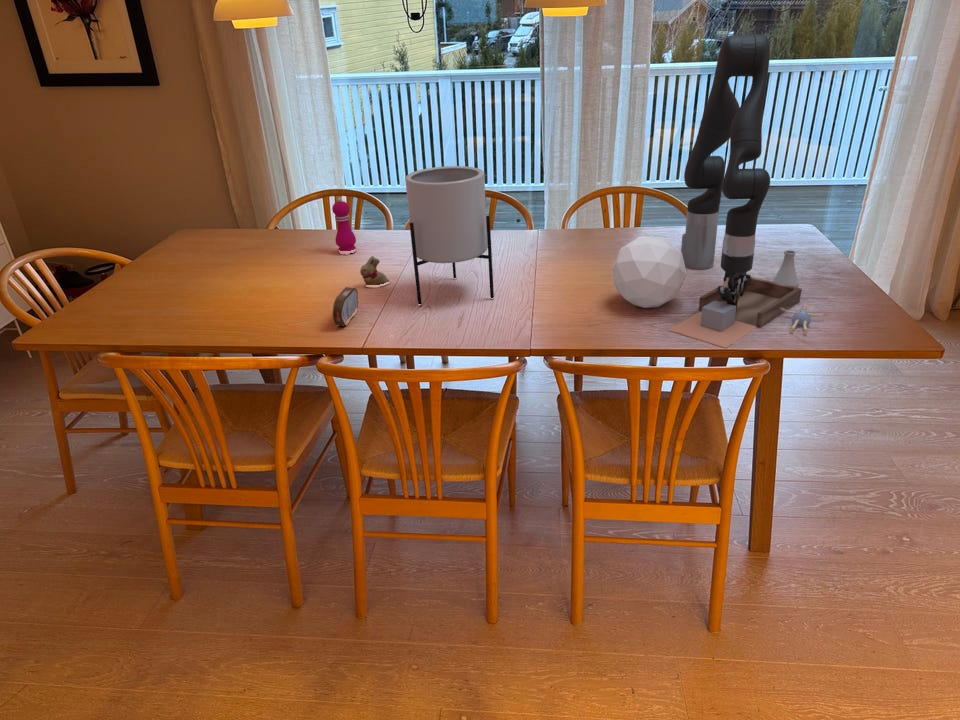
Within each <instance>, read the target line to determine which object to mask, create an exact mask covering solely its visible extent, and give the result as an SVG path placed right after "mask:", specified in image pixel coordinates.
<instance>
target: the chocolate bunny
mask: <svg viewBox="0 0 960 720" xmlns="http://www.w3.org/2000/svg"><path fill="white" fill-rule="evenodd" d="M379 264H380V259H378V258H376V257H375V256H373V255H372V256H370V257H369V259H368V260H367V261H366V262H365V263H364V264H363V265H361V267H360V270H359V272H360V275H361V276H362V279H363V282H364V283H365V285H380V284H384V283H386V282H389V281H390V280H389V279H388V277H387V276H386V274H385V273H383V272H381V271H378V269H377V267H378V265H379Z"/></svg>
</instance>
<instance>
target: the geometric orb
mask: <svg viewBox="0 0 960 720" xmlns="http://www.w3.org/2000/svg"><path fill="white" fill-rule="evenodd" d="M686 269H687V267H686V266H685V264H684V260H683V256H682V252H681V249H679V248H677V247H676V246H675V245H673V244H672V243H671V242H670V241H669V240H667V239H666V238H665V237H663V236H659V237H658V236H644V235H642V236H641V235H640V236H638V237H637V238H635V239H633V240H632V241H631V242H629V243H627V244H626V245H624V246H622V247H621V248H620V250H619V251H618V254H617V256H616V259H615V262H614V264H613V266H612V278H613V279H612V280H613V284H614V287H615V289H616V290H617V292H618V293H619V294H620V295H621V296H622V297H623V298H624V300H626V301H627V302H629V303H630V304H632V305H634V306H636V307H640V308H646V309H647V308H650V309H651V308H659V307H661V306H662V305H664V304H666V303H667V302H669V301H672V300H673V299H674V298H676V297H678V296H679V293H680V291H681V289H682V286H683V285H684V283H685V280H686V279H687V278H686V277H687V276H688V273H687V270H686Z"/></svg>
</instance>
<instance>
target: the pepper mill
mask: <svg viewBox="0 0 960 720" xmlns="http://www.w3.org/2000/svg"><path fill="white" fill-rule="evenodd" d="M350 208H351V207H350V205H349V204H348V202H346V201H345V200H344V201H343V197H340V196H339V197H337V198H336V202H334V204H333V205H332V213H333V214H334V215H335V216H334V218H335V221H336V223H337V232H336V235H335V245H336V246H337V247H338V248H337V251H338V250H340V251H351V250H354V249H356V250H357V248H356V246H355V244H356V243H357V238H356V235H355V233H354V231H353V230H352V229H351V226H350V222H349V220H350V214H349V213H350V211H351V209H350Z"/></svg>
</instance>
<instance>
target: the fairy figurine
mask: <svg viewBox="0 0 960 720" xmlns="http://www.w3.org/2000/svg"><path fill="white" fill-rule="evenodd" d="M780 308H782V307H780ZM780 308H779V309H780ZM780 310H783V311H785V313H789V314H791V315H792V314H793V315H792V317H791V322H792V326H791V327H790V330H789V334H794V331H795V329H796V328H797V326H801V327H802V330H803V334H802V336H803V335H804V336H807V333H808V326H809V325H811V322H812V319H811V317H825V316H827V317H828V315H829V313H823V314H819V313H818V314H816V313H815V314H814V313H809V312H808V307H807V306H805V305H804V306H802V307H801V308H800V309H799V311H792V310H789V309H788V310H784V308H782V309H780Z"/></svg>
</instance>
